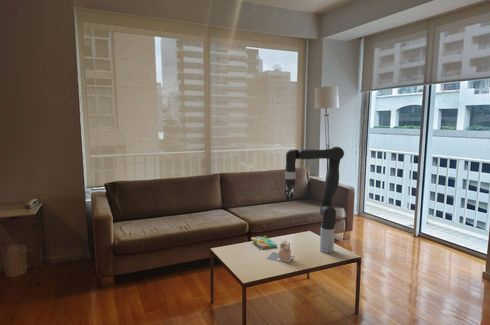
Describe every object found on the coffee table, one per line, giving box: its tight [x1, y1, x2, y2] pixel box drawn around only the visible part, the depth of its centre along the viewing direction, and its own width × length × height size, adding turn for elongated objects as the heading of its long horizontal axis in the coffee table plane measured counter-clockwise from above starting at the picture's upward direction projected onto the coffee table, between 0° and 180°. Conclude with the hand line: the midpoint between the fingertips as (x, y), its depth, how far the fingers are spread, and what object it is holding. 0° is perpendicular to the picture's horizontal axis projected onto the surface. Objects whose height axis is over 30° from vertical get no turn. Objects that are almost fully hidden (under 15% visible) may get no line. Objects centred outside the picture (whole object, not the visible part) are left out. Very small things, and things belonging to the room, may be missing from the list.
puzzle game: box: [250, 235, 278, 250], centre depth 243 cm, size 12×5×20 cm
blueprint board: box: [265, 251, 296, 265], centre depth 218 cm, size 16×13×2 cm
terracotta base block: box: [278, 248, 292, 261], centre depth 216 cm, size 6×6×6 cm
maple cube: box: [279, 240, 291, 252], centre depth 216 cm, size 5×5×5 cm
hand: (289, 200), depth 234 cm, fingers open, 8 cm apart
